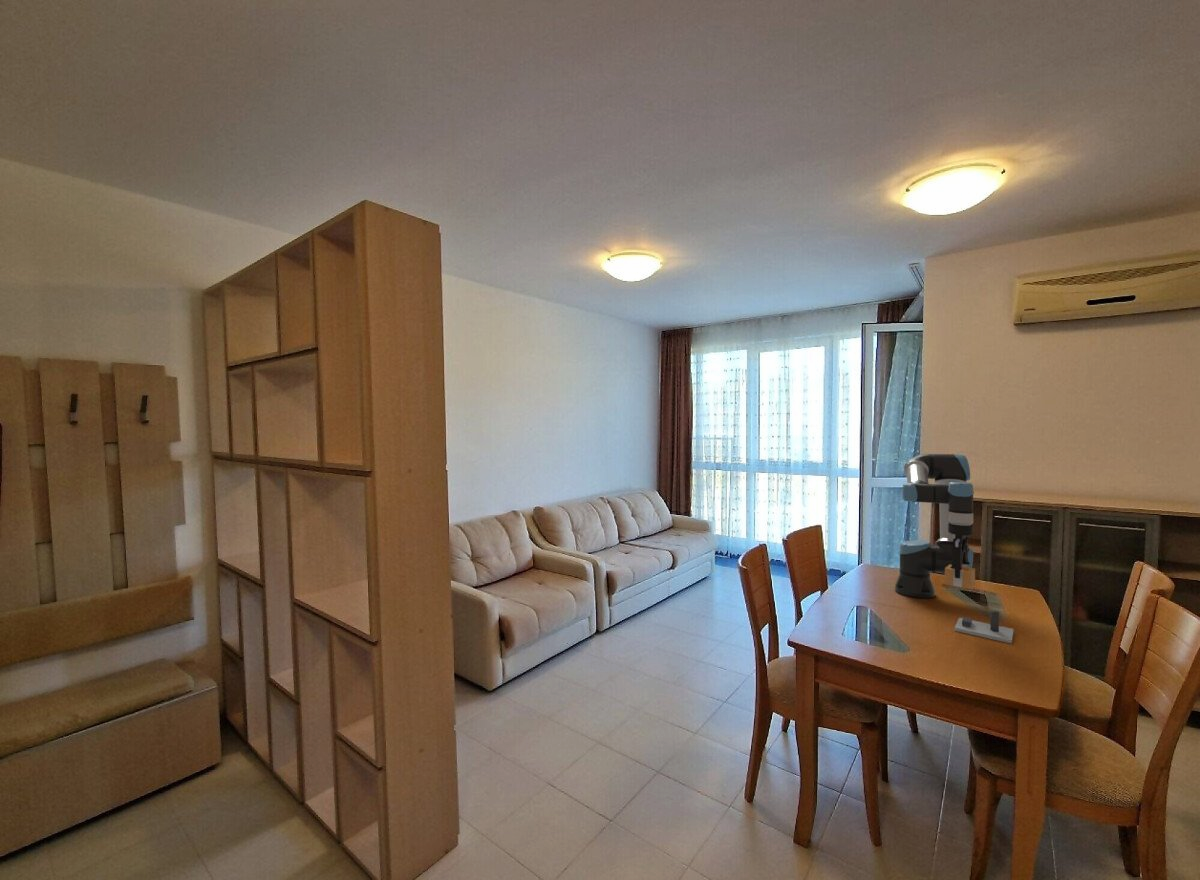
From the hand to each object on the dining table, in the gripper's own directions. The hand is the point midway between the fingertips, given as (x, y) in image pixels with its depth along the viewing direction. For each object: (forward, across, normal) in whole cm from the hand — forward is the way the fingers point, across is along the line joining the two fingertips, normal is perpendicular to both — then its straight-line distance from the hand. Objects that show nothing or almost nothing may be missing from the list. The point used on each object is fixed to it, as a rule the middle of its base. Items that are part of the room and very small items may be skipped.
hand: (960, 583), depth 183 cm
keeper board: (+16, 0, +7) cm, 17 cm away
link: (0, 0, 0) cm, 0 cm away
